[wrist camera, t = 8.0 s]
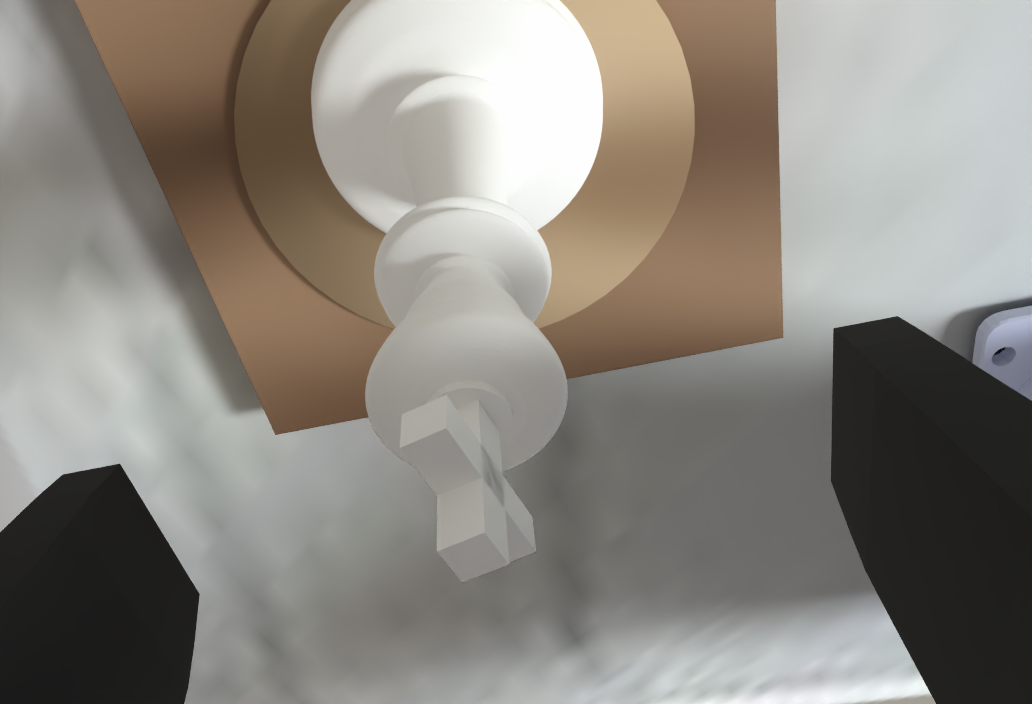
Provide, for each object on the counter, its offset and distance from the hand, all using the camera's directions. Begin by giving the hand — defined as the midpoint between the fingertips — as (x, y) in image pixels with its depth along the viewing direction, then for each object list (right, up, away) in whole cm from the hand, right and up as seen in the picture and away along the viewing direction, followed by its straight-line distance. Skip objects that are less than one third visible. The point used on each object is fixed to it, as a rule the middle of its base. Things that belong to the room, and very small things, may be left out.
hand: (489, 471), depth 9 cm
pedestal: (-1, +5, +8) cm, 9 cm away
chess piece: (-1, +5, +6) cm, 8 cm away
